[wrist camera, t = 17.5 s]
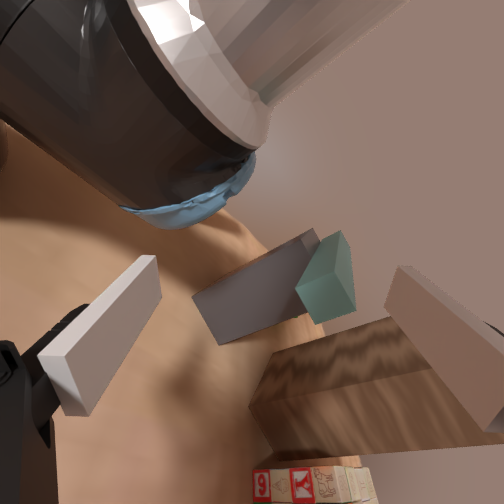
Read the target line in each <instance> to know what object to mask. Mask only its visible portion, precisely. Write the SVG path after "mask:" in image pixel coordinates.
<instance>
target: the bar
mask: <svg viewBox="0 0 504 504" xmlns="http://www.w3.org/2000/svg"><path fill="white" fill-rule="evenodd" d="M295 289H296V291H297V293H298V295H299V297H300V298H301V300H302V302H303V304H304V306H305V307H306V309H307V311H308V313H309V314H310V316H311V318H312V320H313V322H314V323H315V325H316V324H319V323H322V322H325V321H328V320H331V319H334V318H336V317H340V316H342V315H346V314H348V313H351V312H354V311H356V303H355V292H354V283H353V273H352V262H351V252H350V247H349V245H348V243H347V241H346V239H345V238H344V236H343V234H342V232H341V230H340V231H338V232H336V233H334V234H332V235H330V236H328V237H326V238H324V239H322V241H321V243H320V245H319V246H318V248H317V250H316V252H315V253H314V255H313V257H312V259H311V261H310V262H309V264H308V266H307V268H306V270H305V271H304V273H303V275H302V277H301V278H300V280H299V282H298V284H297V286H296V287H295Z"/></svg>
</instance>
